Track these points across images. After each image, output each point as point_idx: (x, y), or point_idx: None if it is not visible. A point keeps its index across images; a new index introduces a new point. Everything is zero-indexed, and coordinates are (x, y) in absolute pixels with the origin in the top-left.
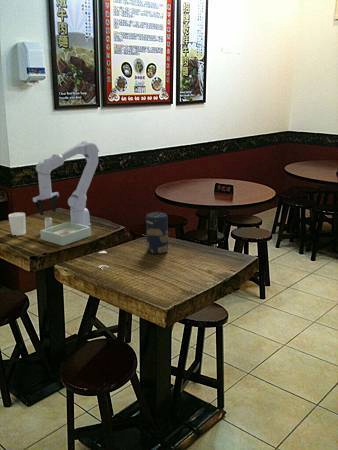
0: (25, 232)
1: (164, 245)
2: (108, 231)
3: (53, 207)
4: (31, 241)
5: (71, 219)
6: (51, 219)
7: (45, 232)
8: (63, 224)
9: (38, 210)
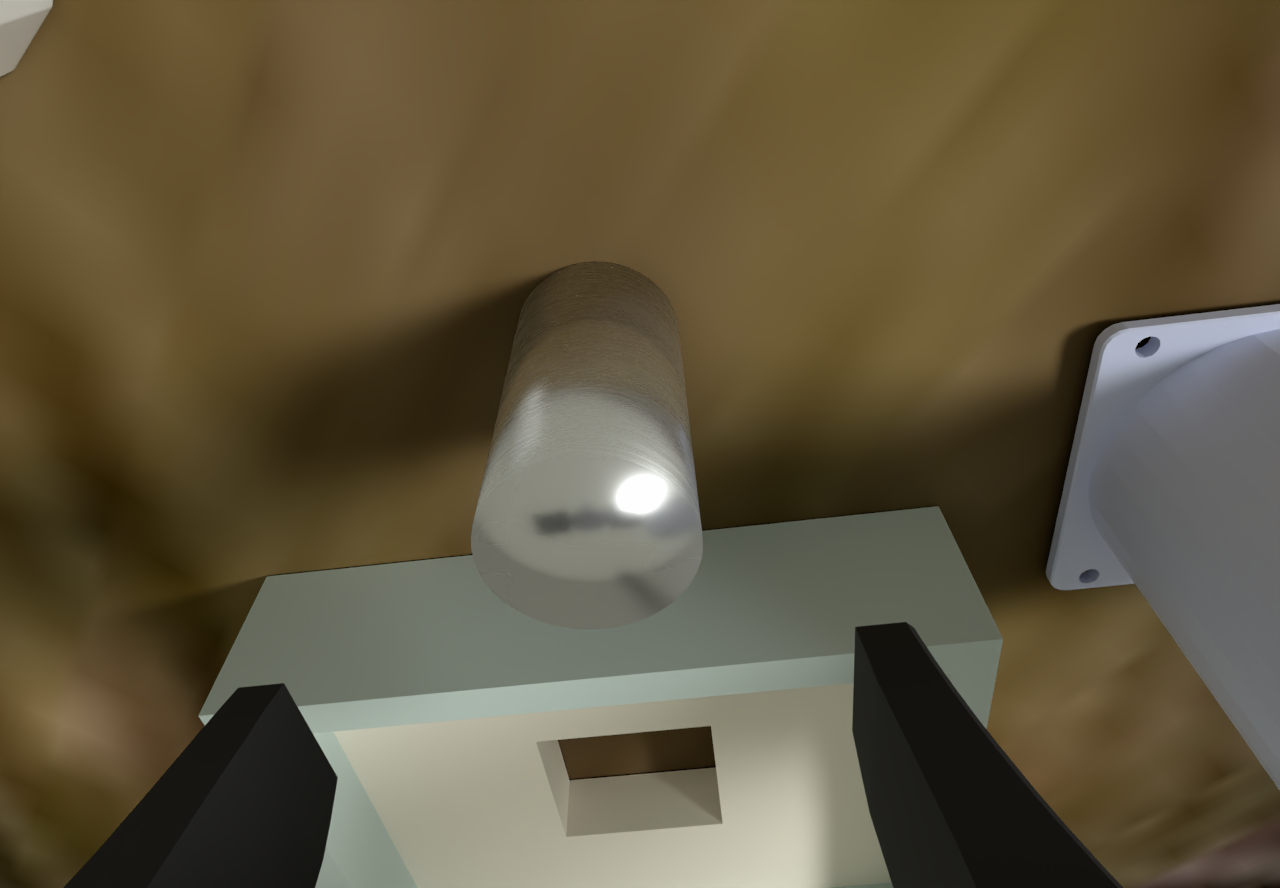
0: (26, 33)
1: None
2: (1164, 845)
3: (903, 861)
4: (84, 563)
5: (1194, 545)
6: (643, 603)
7: None
8: (796, 678)
9: (117, 848)
